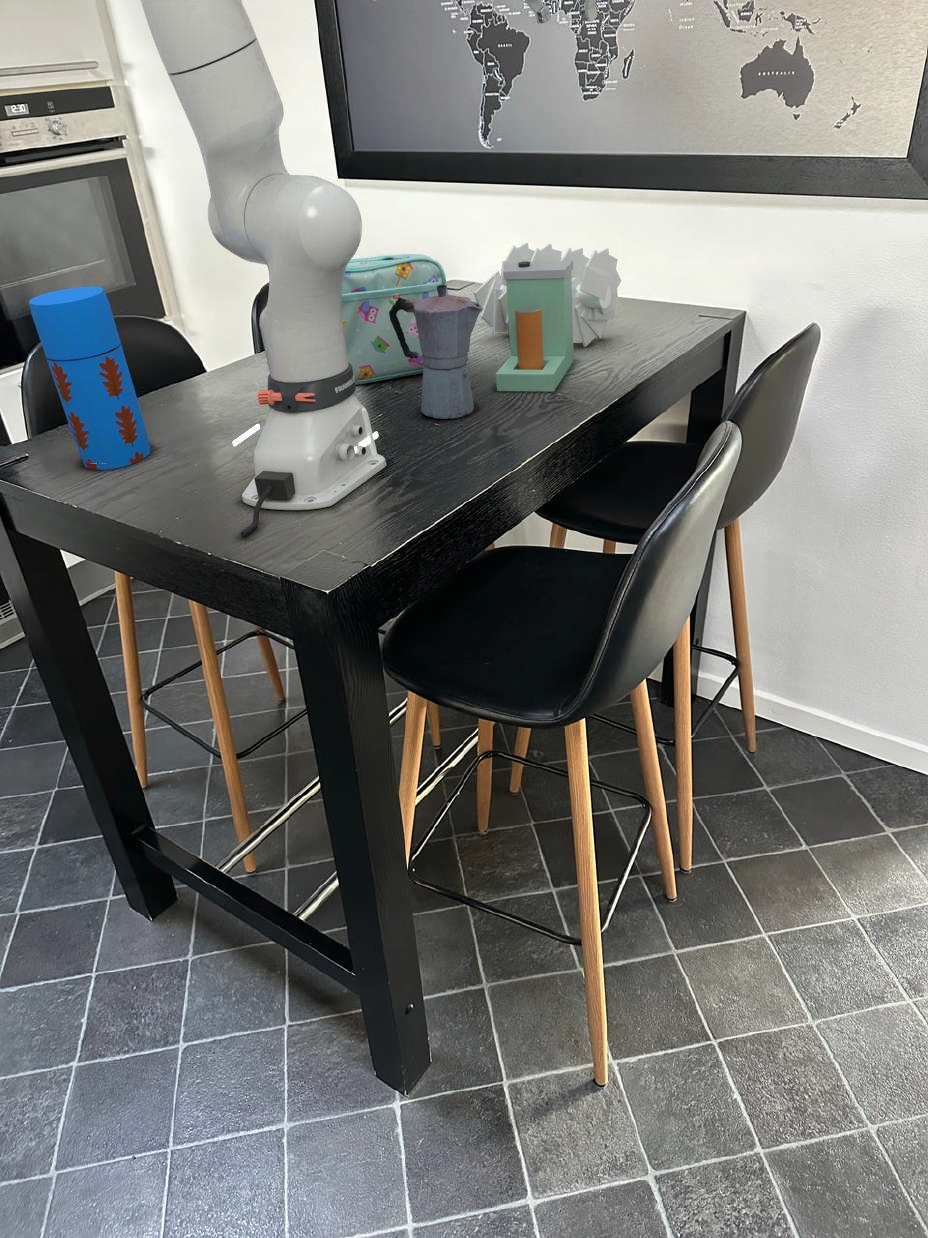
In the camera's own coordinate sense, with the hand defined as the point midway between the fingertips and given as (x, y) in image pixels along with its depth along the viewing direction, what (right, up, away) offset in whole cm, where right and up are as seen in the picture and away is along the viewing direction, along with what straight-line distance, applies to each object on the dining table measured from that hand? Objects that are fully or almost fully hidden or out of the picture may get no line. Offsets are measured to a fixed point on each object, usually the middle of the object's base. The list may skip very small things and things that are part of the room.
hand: (567, 20), depth 137 cm
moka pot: (-19, -56, +13) cm, 60 cm away
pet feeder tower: (-1, -44, +28) cm, 52 cm away
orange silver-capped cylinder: (-4, -49, +21) cm, 53 cm away
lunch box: (-30, -45, +32) cm, 63 cm away
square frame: (-4, -49, +21) cm, 53 cm away
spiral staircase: (+2, -35, +42) cm, 55 cm away
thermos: (-71, -64, +9) cm, 96 cm away
